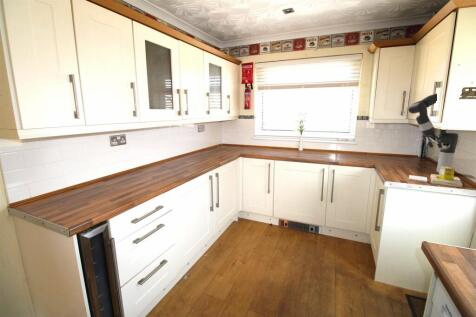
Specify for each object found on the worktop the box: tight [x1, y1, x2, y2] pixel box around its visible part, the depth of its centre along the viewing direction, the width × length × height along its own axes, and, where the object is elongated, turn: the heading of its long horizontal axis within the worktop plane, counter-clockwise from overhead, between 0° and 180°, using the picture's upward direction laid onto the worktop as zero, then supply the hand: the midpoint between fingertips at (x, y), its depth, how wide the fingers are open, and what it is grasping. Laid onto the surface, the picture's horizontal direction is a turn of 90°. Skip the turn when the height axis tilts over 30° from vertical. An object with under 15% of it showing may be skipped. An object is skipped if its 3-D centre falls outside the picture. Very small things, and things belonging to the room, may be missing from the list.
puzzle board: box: [429, 173, 463, 188], centre depth 172 cm, size 20×16×2 cm
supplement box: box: [438, 167, 456, 181], centre depth 171 cm, size 6×6×11 cm
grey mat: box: [408, 174, 428, 183], centre depth 179 cm, size 12×11×1 cm
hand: (436, 147), depth 173 cm, fingers open, 8 cm apart
